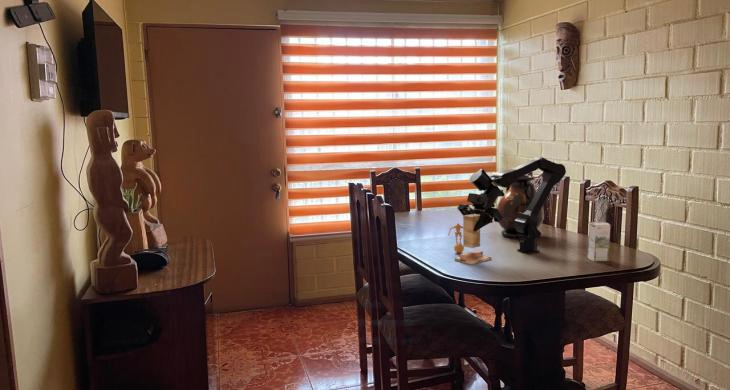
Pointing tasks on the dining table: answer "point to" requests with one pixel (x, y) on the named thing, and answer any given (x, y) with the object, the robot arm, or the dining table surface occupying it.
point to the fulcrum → (472, 257)
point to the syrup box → (598, 241)
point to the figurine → (458, 246)
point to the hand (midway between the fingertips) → (469, 229)
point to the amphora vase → (517, 205)
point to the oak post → (470, 231)
